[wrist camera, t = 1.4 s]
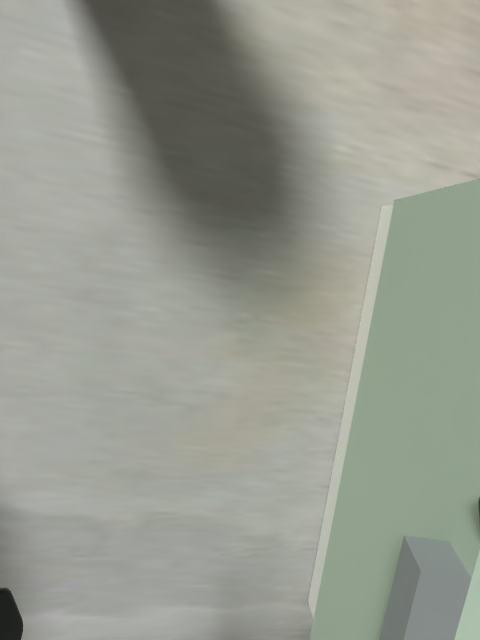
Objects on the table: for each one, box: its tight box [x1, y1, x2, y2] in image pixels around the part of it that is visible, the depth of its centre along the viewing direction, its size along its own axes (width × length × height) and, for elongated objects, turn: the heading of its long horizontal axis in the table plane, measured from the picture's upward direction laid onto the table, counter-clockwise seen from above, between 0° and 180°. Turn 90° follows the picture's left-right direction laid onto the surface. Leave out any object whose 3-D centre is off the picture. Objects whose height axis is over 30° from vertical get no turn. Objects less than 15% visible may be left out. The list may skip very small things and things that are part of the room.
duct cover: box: [310, 179, 480, 640], centre depth 14 cm, size 10×22×2 cm
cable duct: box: [308, 205, 393, 620], centre depth 21 cm, size 10×22×3 cm, turn 173°
